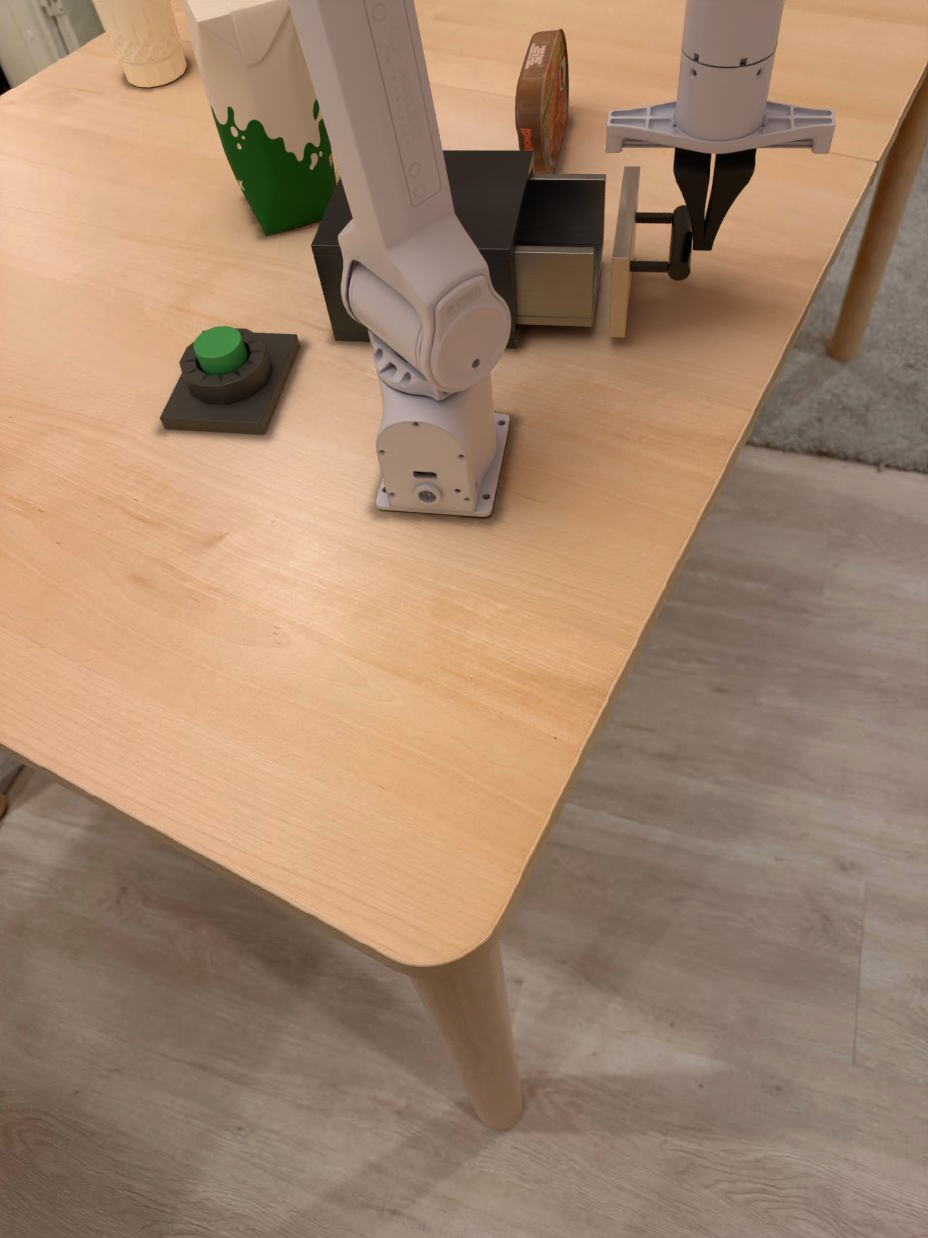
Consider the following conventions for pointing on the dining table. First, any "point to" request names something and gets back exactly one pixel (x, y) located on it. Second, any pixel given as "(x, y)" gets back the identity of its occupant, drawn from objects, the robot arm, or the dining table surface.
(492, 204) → the cabinet
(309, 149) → the milk carton
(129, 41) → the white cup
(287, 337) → the button box
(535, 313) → the drawer
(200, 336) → the button
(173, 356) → the dining table surface
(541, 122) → the tin
